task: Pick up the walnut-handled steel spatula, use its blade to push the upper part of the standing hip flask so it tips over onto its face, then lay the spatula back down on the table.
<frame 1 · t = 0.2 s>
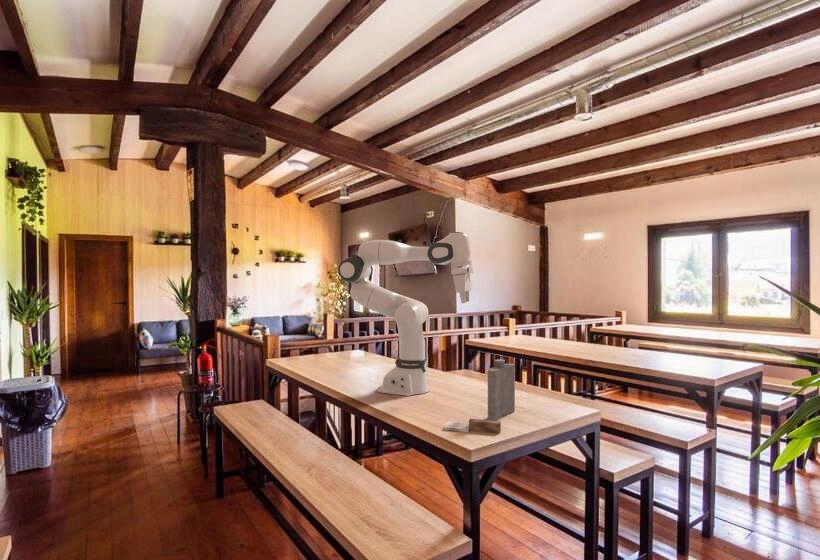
hand: (465, 302, 194), 39 cm above the table, tool pointing down, fingers open, 8 cm apart
hip flask: (500, 415, 166), on the table
spatula: (472, 429, 151), on the table
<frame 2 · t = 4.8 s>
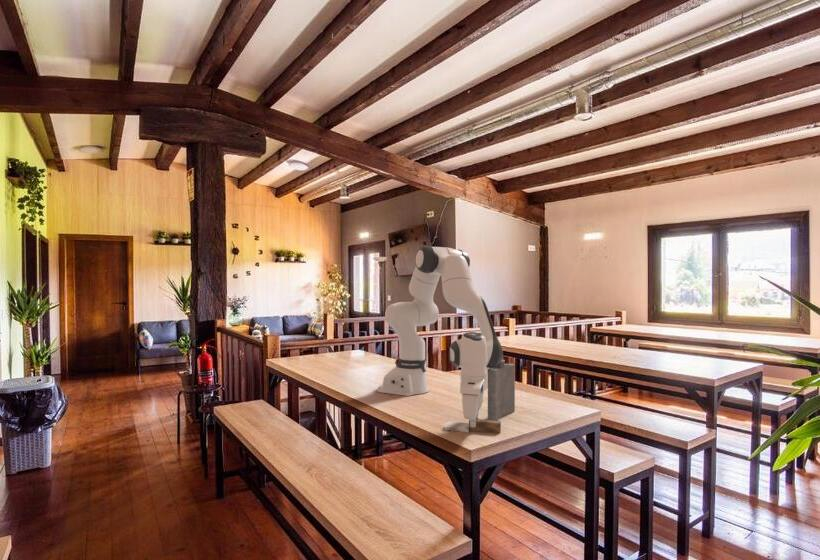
hand: (474, 424, 150), 2 cm above the table, tool pointing down, fingers closed on spatula, 2 cm apart
spatula: (472, 429, 151), on the table, touching gripper
everything else where it was.
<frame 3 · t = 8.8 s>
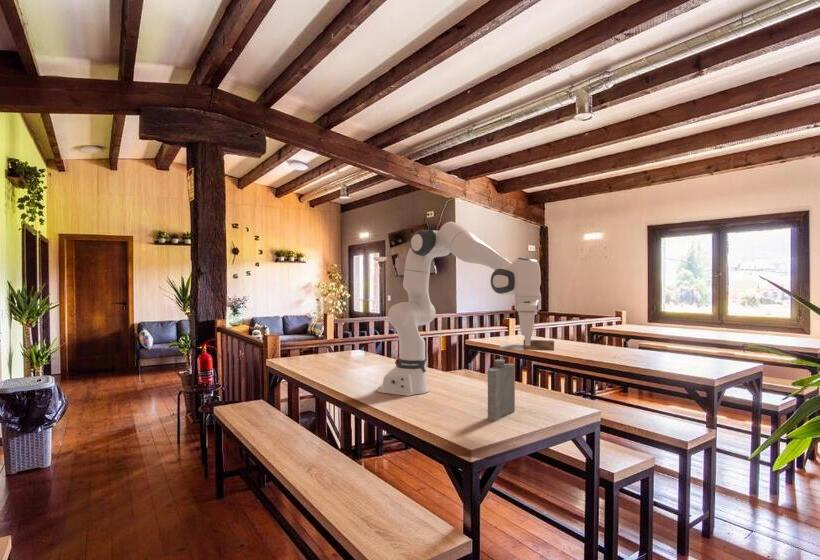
hand: (528, 344, 158), 27 cm above the table, tool pointing down, fingers closed on spatula, 2 cm apart
spatula: (526, 349, 158), point 25 cm above the table, touching gripper
everything else where it was.
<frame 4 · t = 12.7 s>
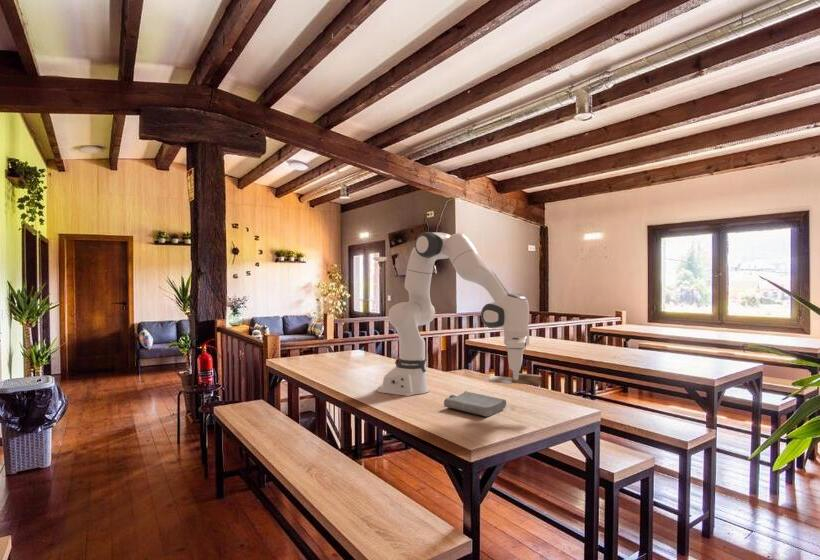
hand: (516, 378, 164), 14 cm above the table, tool pointing down, fingers closed on spatula, 2 cm apart
hip flask: (495, 409, 167), point 2 cm above the table
spatula: (514, 382, 164), point 12 cm above the table, touching gripper
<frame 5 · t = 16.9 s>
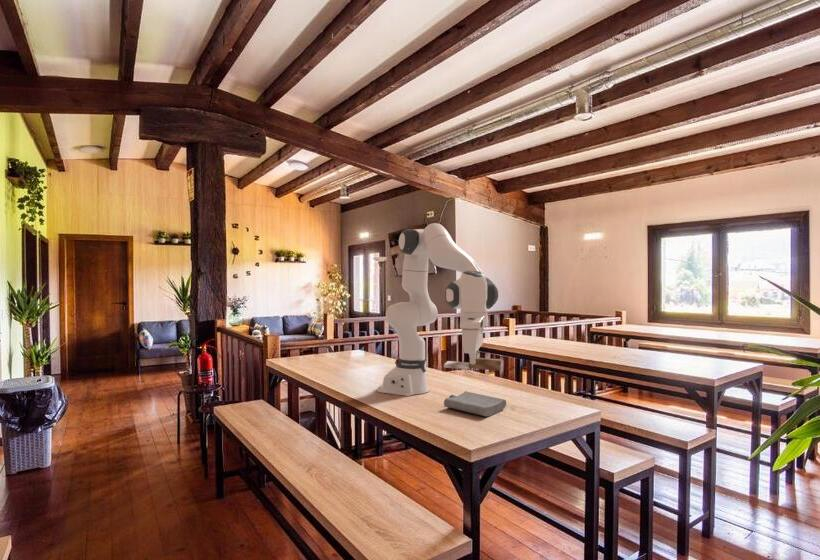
hand: (473, 362, 150), 22 cm above the table, tool pointing down, fingers closed on spatula, 2 cm apart
spatula: (472, 367, 150), point 20 cm above the table, touching gripper
everything else where it was.
when the fingers open (3 cm above the table, at t = 20.5 s): spatula drops 1 cm, on the table.
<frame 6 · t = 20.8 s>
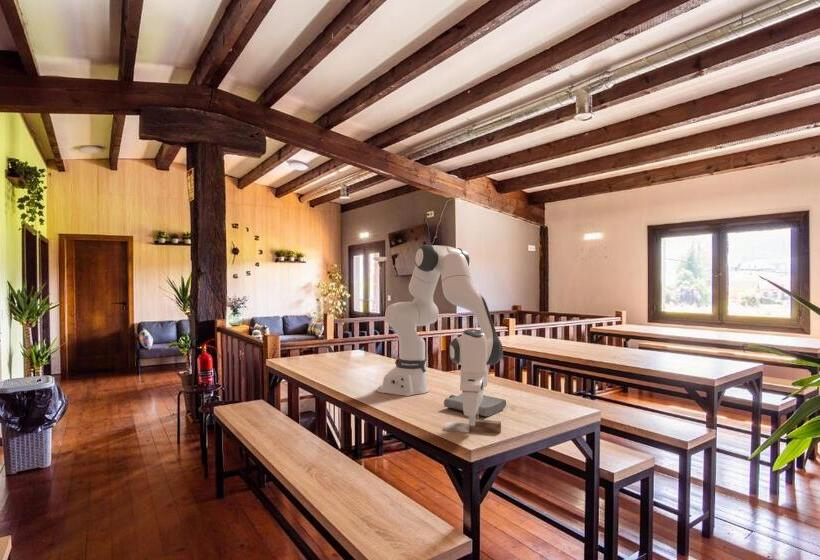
hand: (474, 421, 150), 3 cm above the table, tool pointing down, fingers open, 5 cm apart
spatula: (472, 429, 151), on the table
everything else where it was.
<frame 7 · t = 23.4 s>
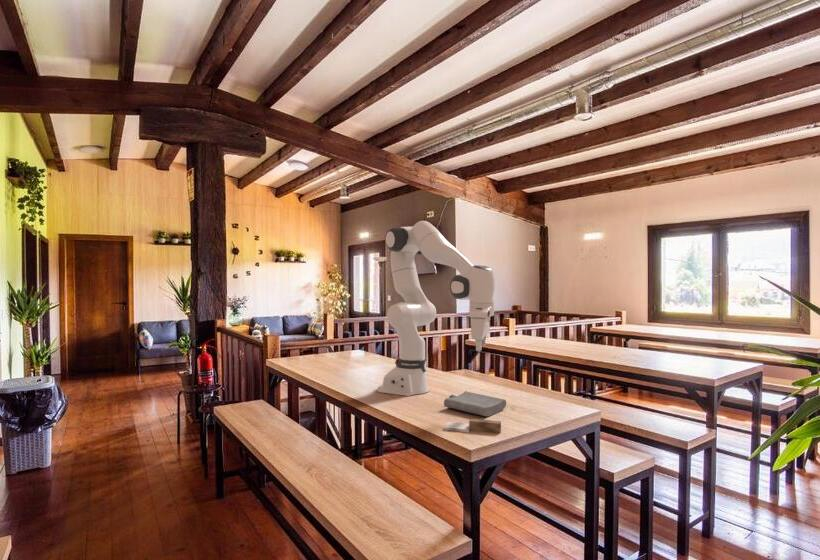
hand: (480, 348, 167), 24 cm above the table, tool pointing down, fingers open, 8 cm apart
nothing on the table moved.
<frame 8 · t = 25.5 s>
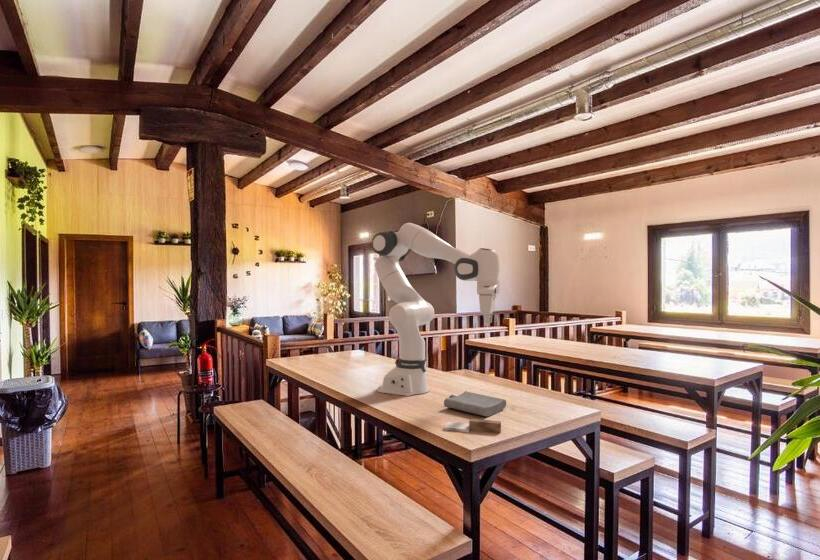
hand: (488, 324, 181), 31 cm above the table, tool pointing down, fingers open, 8 cm apart
nothing on the table moved.
at the end: hip flask tilted 89°; the gripper is holding nothing; spatula on the table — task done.
